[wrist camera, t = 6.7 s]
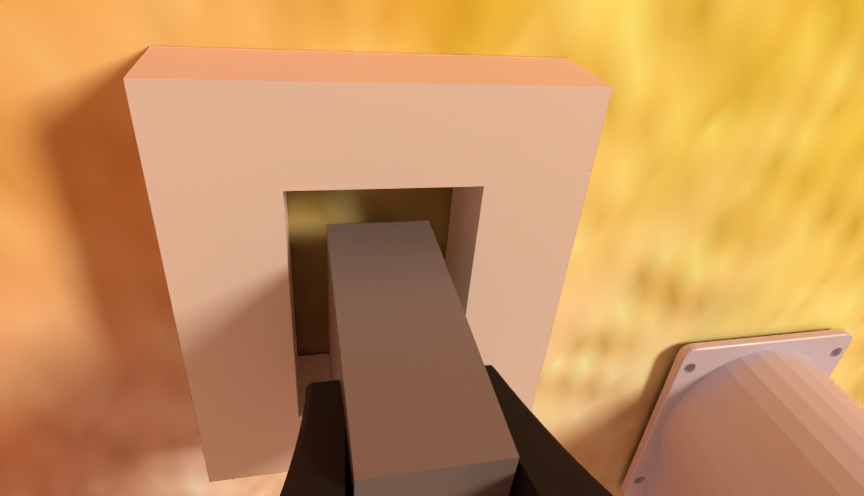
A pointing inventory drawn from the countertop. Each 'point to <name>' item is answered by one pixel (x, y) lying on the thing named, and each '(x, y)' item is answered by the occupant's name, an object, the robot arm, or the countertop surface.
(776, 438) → the robot arm
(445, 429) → the key peg
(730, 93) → the countertop surface
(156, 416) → the countertop surface
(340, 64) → the socket block
